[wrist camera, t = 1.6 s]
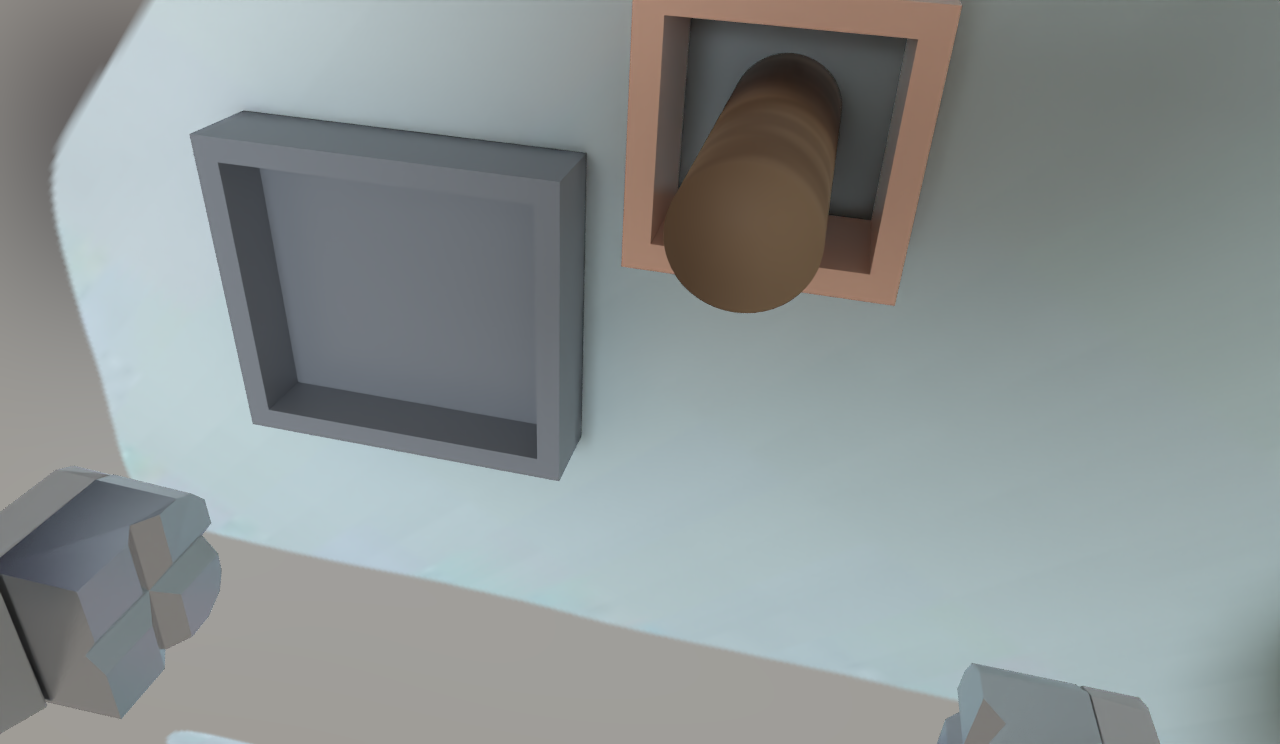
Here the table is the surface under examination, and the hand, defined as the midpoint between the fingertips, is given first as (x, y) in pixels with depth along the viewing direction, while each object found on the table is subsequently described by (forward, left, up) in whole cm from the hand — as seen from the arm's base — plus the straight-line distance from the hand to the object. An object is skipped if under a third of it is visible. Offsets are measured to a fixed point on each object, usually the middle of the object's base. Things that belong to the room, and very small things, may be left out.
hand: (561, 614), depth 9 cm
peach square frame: (-1, 0, -20) cm, 20 cm away
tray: (+11, +7, -20) cm, 24 cm away
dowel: (-1, 0, -20) cm, 20 cm away
